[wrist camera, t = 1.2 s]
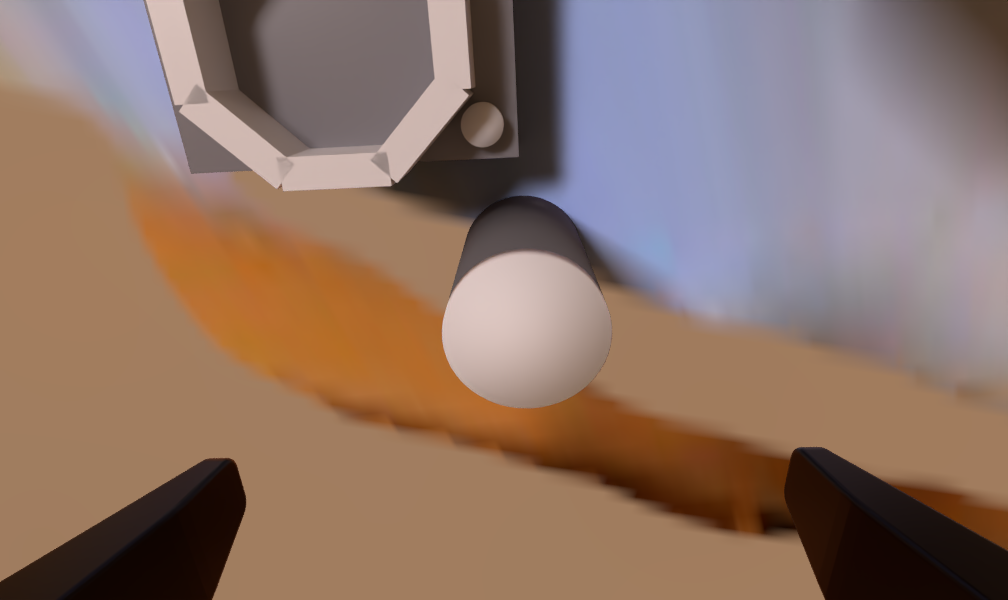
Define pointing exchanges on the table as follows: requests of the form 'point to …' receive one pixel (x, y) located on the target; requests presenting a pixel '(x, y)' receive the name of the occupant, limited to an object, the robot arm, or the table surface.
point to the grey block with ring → (338, 86)
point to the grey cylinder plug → (525, 307)
